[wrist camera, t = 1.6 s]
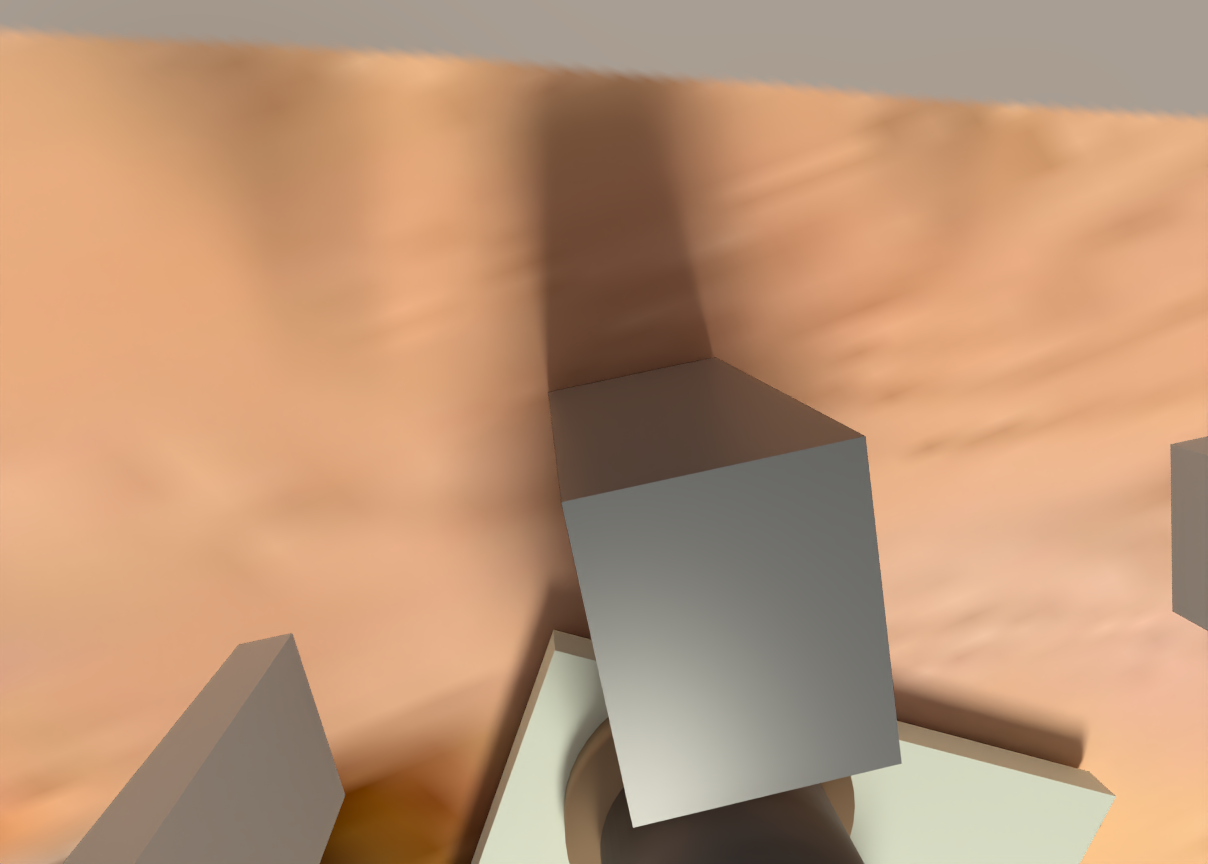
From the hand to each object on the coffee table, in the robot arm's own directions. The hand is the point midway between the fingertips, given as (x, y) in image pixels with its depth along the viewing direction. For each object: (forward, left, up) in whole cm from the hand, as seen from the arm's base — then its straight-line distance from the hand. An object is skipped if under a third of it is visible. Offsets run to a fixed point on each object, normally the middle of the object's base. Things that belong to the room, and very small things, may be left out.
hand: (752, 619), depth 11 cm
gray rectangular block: (0, 0, -7) cm, 7 cm away
